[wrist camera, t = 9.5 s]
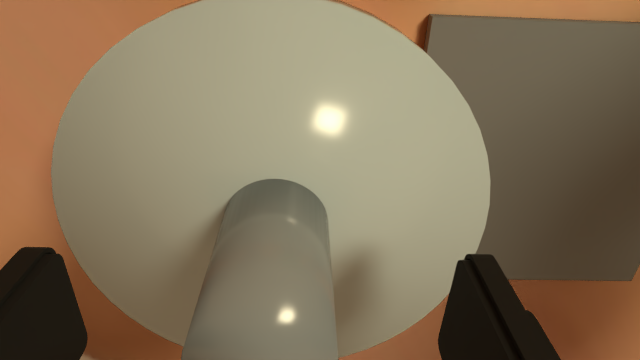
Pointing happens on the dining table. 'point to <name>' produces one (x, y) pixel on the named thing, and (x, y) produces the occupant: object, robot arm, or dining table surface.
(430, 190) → the lid
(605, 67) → the mat
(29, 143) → the dining table surface
